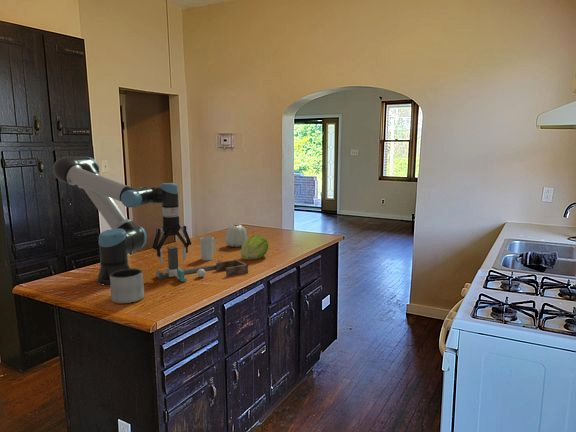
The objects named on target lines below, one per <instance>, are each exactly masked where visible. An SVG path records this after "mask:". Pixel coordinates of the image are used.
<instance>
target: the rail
mask: <svg viewBox="0 0 576 432" xmlns="http://www.w3.org/2000/svg"><path fill="white" fill-rule="evenodd" d="M218 262H223V261H222V260H217V261H216V263H218ZM199 269H204V270H205V272H206V271H207V272H208V271H212V270H216V264H212V265H211V264H210V265H206V266H199V267H195V268H194V267H193V268H187V269H182V270H183V271H184V275H188V274H194V273H197V271H198V270H199ZM155 276H156V278H157V279H158V280H163V279H165V278H166V279H167V278H170V277H169V275H168V273H166V272H165V273H163V272H162V271H161V270H160V269H159V270H155Z"/></svg>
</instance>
